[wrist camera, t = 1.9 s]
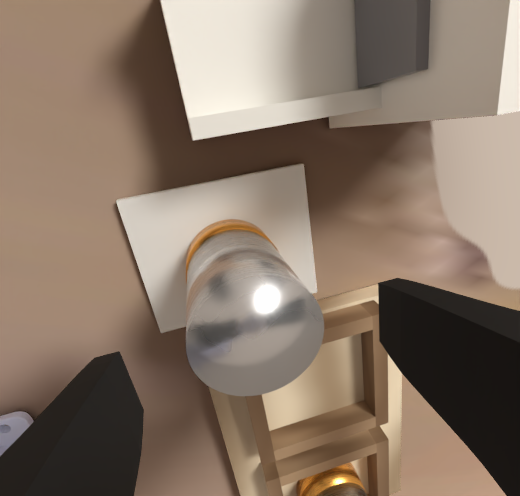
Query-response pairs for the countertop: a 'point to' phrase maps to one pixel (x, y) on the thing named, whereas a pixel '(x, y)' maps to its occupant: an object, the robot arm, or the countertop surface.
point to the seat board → (323, 411)
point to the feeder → (342, 61)
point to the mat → (208, 212)
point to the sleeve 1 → (247, 312)
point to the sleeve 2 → (332, 483)
